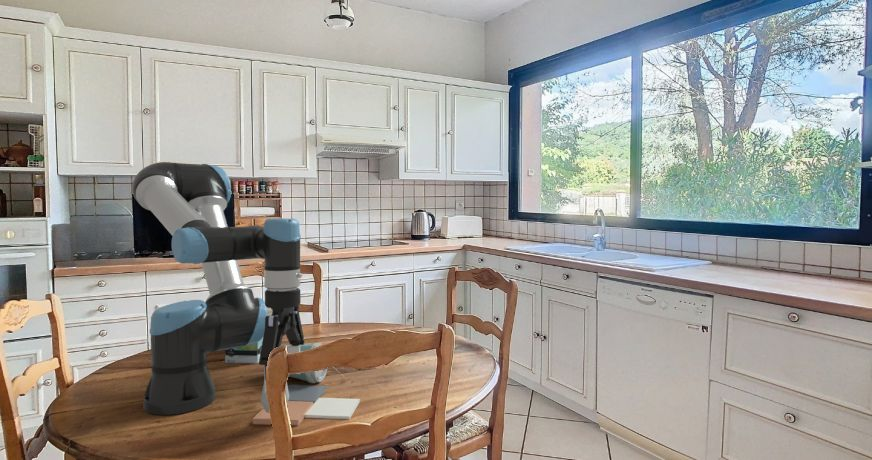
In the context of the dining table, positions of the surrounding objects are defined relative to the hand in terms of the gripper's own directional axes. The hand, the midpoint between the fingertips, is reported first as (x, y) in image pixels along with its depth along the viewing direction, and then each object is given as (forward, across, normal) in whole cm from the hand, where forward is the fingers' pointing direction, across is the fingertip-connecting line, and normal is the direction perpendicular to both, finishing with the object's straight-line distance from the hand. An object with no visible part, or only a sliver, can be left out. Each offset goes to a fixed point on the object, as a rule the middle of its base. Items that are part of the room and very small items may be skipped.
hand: (283, 383), depth 110 cm
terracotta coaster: (+7, 0, 0) cm, 7 cm away
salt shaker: (+4, -5, 0) cm, 6 cm away
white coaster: (+8, +4, -10) cm, 13 cm away
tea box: (+7, +39, +25) cm, 47 cm away
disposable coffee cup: (+2, +24, +12) cm, 27 cm away
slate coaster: (+8, +12, 0) cm, 14 cm away
